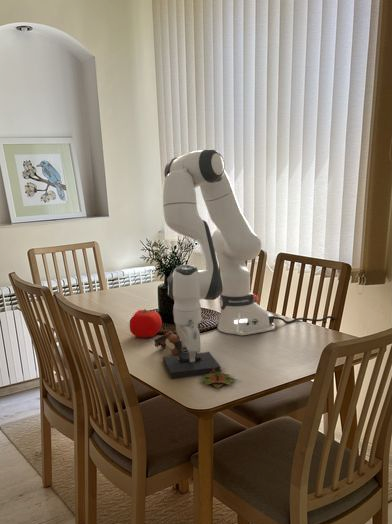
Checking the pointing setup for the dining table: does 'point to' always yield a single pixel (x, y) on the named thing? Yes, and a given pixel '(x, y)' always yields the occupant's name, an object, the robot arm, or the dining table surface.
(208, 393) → the dining table surface
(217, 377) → the lily flower
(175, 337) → the brown animal figurine
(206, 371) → the notched mat
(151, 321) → the tomato
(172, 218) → the robot arm
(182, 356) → the pad
